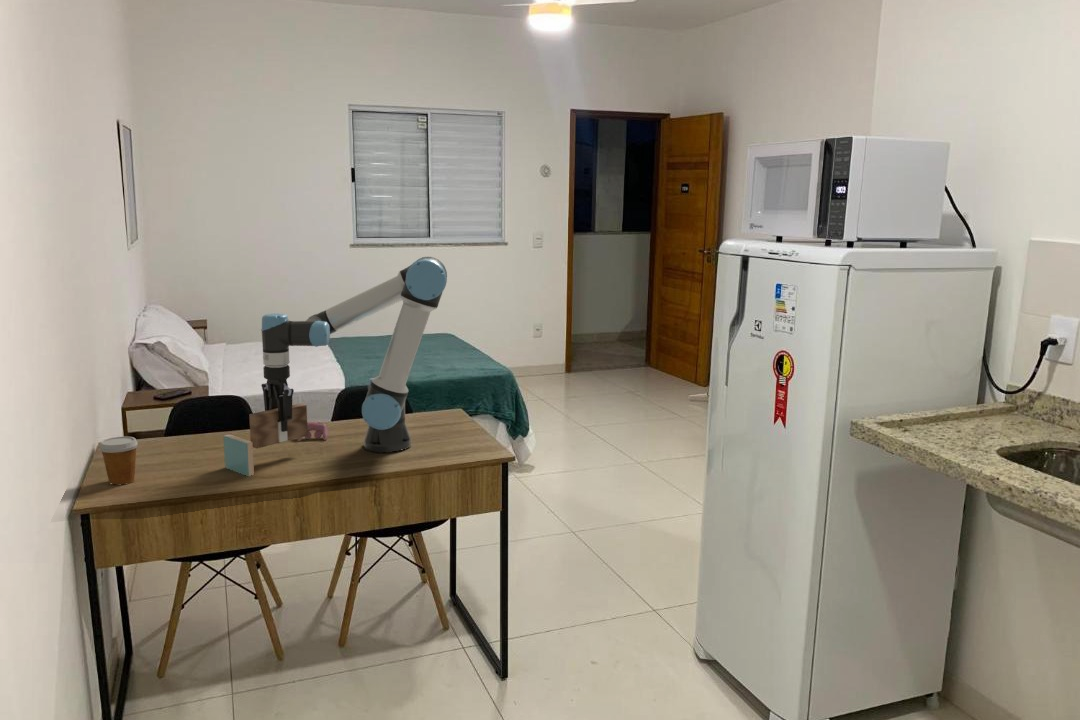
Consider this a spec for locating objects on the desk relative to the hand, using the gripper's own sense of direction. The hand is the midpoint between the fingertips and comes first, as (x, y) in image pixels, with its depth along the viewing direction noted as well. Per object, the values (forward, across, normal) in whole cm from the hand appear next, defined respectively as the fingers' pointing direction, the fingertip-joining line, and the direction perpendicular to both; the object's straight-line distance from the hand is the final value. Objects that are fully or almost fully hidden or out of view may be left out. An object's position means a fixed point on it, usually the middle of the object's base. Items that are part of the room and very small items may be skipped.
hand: (279, 439), depth 244 cm
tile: (+7, 0, -14) cm, 15 cm away
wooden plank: (0, 0, 0) cm, 0 cm away
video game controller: (+7, -12, +20) cm, 25 cm away
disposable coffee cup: (+7, -16, -40) cm, 44 cm away
